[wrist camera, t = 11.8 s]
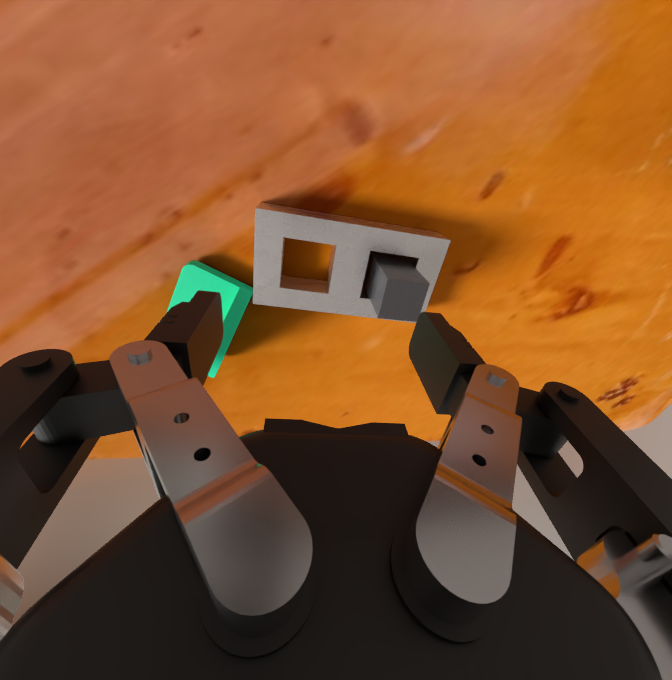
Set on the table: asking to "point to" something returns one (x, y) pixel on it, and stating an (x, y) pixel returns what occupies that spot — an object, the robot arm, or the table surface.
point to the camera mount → (232, 298)
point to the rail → (335, 258)
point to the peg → (394, 287)
